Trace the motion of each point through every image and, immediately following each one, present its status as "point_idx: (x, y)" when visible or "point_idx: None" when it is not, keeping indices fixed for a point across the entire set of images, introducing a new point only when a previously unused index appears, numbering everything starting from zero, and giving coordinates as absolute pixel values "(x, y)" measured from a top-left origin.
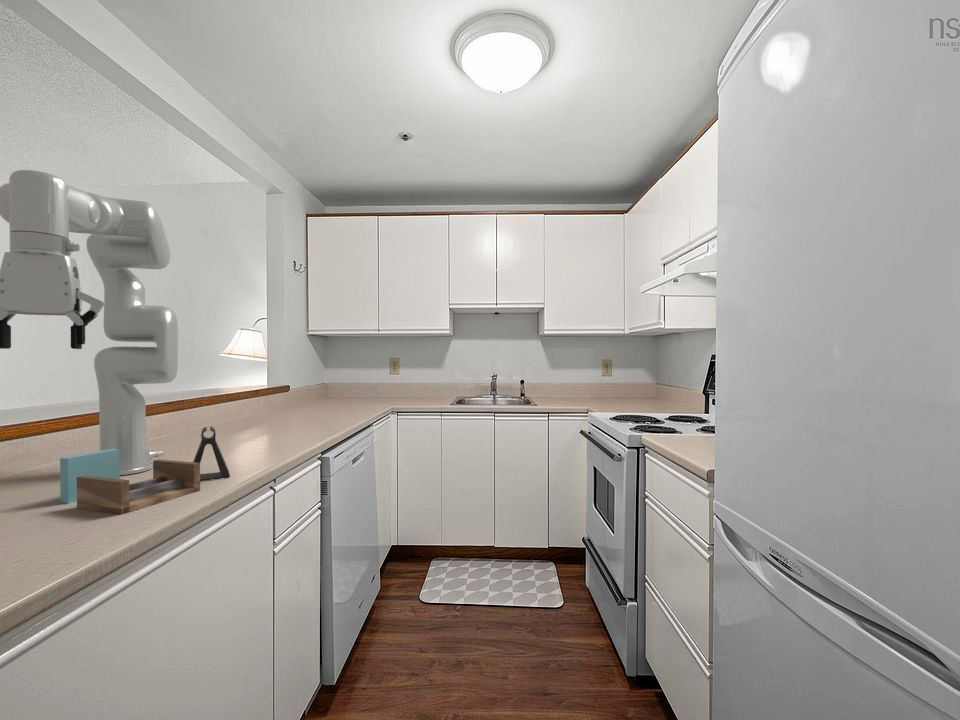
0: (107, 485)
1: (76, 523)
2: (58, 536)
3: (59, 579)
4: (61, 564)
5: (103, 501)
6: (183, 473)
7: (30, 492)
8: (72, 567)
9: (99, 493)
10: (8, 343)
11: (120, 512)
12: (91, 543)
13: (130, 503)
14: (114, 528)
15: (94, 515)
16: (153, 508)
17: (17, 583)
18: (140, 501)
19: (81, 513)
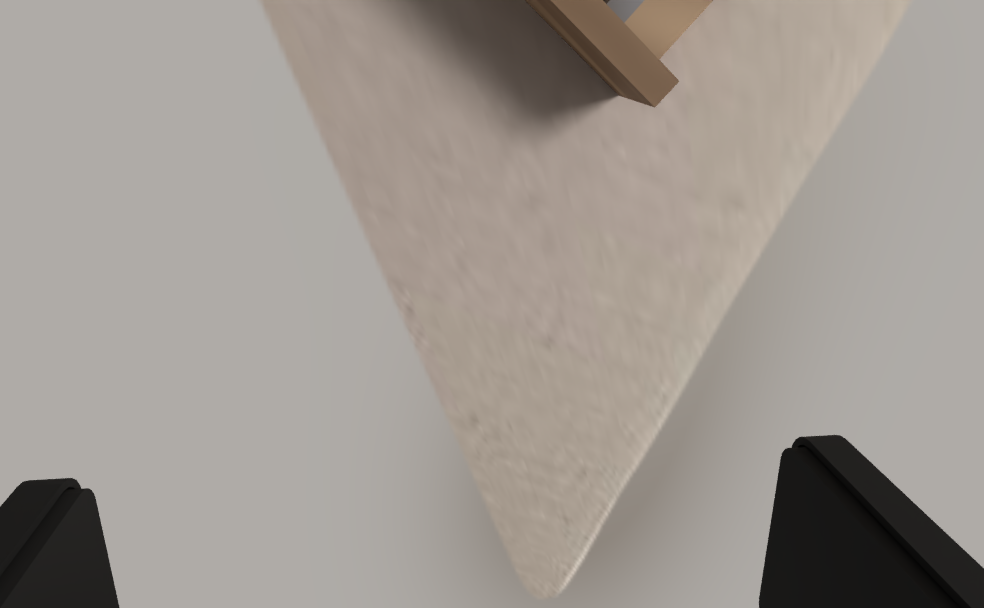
0: (594, 50)
1: (505, 147)
2: (495, 266)
3: (586, 547)
4: (566, 473)
5: (563, 31)
6: None
7: None
8: (593, 497)
9: (552, 15)
10: (78, 576)
11: (618, 93)
12: (594, 358)
13: (643, 26)
14: (625, 248)
15: (535, 66)
16: (710, 55)
17: (517, 542)
18: (673, 9)
19: (484, 15)
